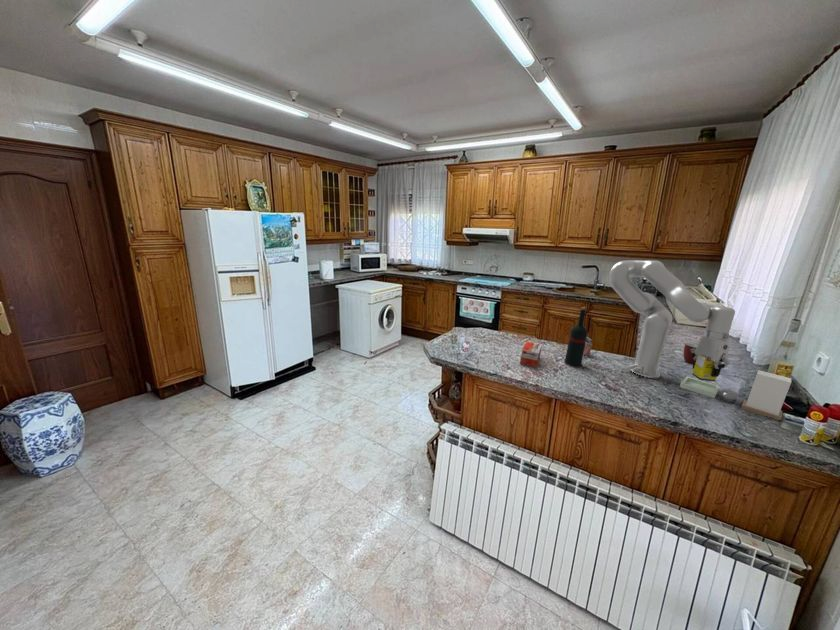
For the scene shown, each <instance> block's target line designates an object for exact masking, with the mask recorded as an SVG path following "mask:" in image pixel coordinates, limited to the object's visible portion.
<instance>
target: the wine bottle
mask: <svg viewBox="0 0 840 630" xmlns="http://www.w3.org/2000/svg"><path fill="white" fill-rule="evenodd" d="M585 315H586V306H581V309H580V311H579V317H578V322H577V325H574V326H572V328H571V329H570V333H569V338H568V343H567V347H566V353H565V358H564V359H565V360H564V363H565V364H566V365H568V366H571V367H577V368H579V367H581V366H582V362H583V358H584V356H583V352H584V347H585V342H586V337H588V329H587V328H586V327H585V326H584V319H585Z"/></svg>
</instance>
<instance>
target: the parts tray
mask: <svg viewBox="0 0 840 630" xmlns="http://www.w3.org/2000/svg"><path fill="white" fill-rule="evenodd" d="M680 387H681V389H683V390H686V391H690V392H694V393H697V394H699V395H703V396H706V397H709V398H713V399H715V397H716V396H717V394H718V393H719V390H720V385H717V384H714V383H711V382H708V381H705V380H700V379H698V378H693V377H690V376H685V378H684V379H683V380H682V381H681V382H680V385H679V388H680Z"/></svg>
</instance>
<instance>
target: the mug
mask: <svg viewBox="0 0 840 630" xmlns="http://www.w3.org/2000/svg"><path fill="white" fill-rule="evenodd" d="M697 346H698V343H697V344H696V343H691V342H686V343H685V344H684V348H683V359H684V362H685V363H687V364H691V365H693V363H694V359H693V356H692V353H691V350H690V349H692V348H696V347H697Z"/></svg>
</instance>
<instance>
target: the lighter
mask: <svg viewBox="0 0 840 630" xmlns="http://www.w3.org/2000/svg"><path fill="white" fill-rule="evenodd" d="M592 341H593V340H592V339H591V338H590V337H588V336H587V337H586V342H585V347H584V352H583V355H585V356H590V357H591V350H592V347H593V342H592ZM585 356H584V357H585Z"/></svg>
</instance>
